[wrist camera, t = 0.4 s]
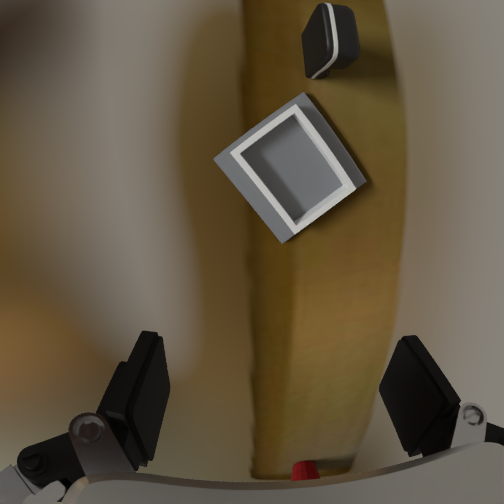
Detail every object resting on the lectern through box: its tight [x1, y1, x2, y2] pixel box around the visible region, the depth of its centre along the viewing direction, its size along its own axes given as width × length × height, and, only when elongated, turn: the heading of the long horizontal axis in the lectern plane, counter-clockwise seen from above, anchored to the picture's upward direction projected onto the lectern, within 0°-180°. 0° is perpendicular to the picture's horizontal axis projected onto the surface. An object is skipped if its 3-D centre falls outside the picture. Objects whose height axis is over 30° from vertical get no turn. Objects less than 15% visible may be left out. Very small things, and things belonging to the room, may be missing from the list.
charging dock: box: [214, 92, 366, 244], centre depth 35 cm, size 14×14×3 cm
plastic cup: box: [291, 461, 321, 481], centre depth 56 cm, size 11×11×12 cm
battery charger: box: [302, 3, 360, 79], centre depth 25 cm, size 7×4×11 cm, turn 4°
